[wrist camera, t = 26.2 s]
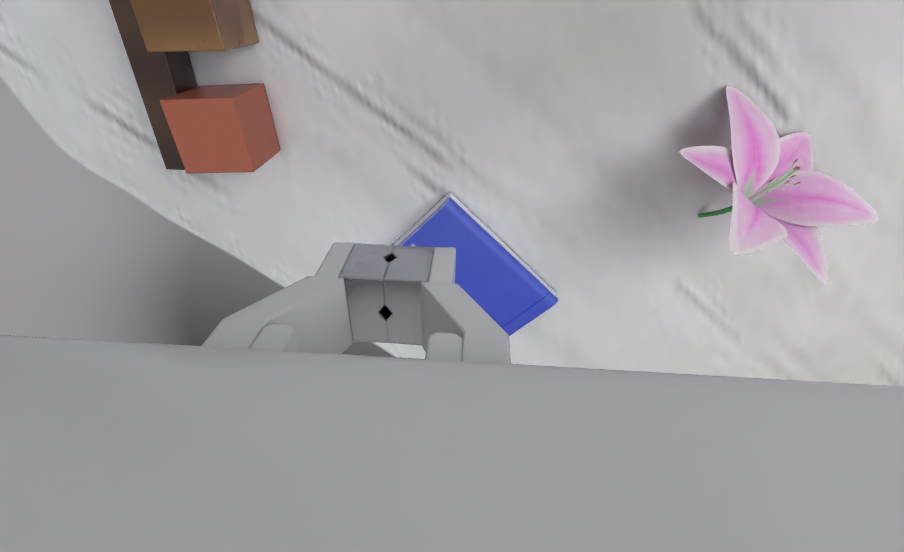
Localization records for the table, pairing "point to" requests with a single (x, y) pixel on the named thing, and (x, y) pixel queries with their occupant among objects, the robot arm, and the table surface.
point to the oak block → (195, 24)
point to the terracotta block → (222, 128)
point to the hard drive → (483, 265)
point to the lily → (776, 187)
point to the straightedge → (154, 78)
